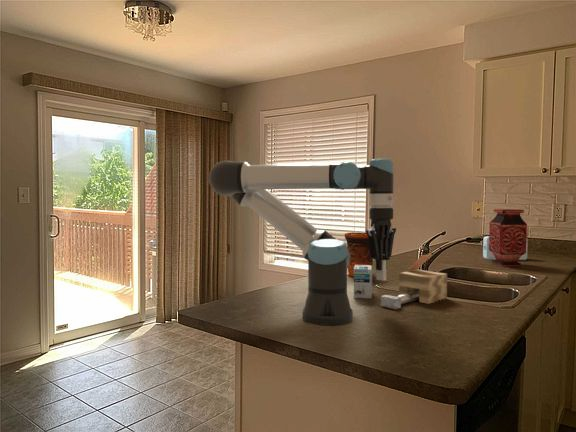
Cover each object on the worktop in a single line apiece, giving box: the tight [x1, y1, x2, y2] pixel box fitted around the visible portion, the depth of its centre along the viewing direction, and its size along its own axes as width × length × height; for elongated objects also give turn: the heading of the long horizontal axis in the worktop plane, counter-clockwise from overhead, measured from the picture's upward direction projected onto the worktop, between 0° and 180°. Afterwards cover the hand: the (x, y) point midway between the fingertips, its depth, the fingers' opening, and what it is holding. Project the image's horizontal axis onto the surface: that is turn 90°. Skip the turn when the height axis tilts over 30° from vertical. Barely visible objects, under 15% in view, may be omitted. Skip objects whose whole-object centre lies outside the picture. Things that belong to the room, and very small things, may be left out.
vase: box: [488, 208, 528, 267], centre depth 229 cm, size 14×14×30 cm
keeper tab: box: [406, 253, 433, 272], centre depth 158 cm, size 9×6×1 cm
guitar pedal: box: [482, 235, 528, 261], centre depth 252 cm, size 23×6×13 cm, turn 88°
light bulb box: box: [353, 264, 373, 300], centre depth 159 cm, size 11×7×11 cm, turn 168°
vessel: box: [344, 231, 374, 278], centre depth 201 cm, size 14×14×20 cm
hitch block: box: [398, 269, 448, 305], centre depth 155 cm, size 12×12×9 cm
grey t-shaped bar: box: [380, 291, 420, 310], centre depth 147 cm, size 17×6×3 cm, turn 130°
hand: (381, 279), depth 139 cm, fingers closed
